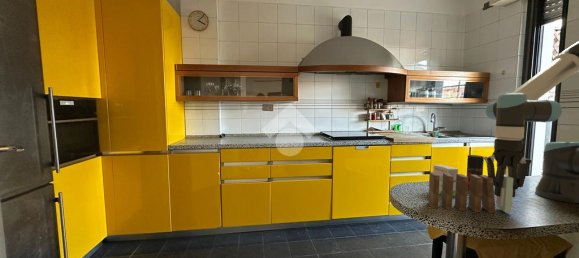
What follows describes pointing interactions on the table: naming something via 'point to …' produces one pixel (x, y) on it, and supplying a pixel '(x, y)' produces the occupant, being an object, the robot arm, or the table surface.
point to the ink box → (440, 170)
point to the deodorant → (474, 166)
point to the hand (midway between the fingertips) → (503, 205)
